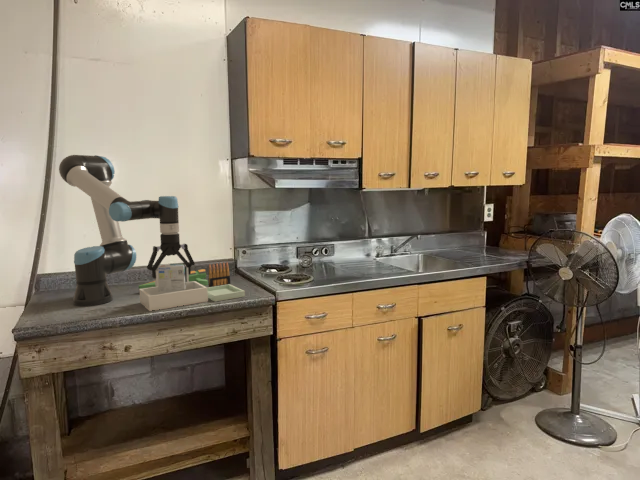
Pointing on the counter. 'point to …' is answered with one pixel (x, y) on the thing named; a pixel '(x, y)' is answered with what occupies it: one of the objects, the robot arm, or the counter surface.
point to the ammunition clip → (219, 275)
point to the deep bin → (173, 296)
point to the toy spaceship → (193, 276)
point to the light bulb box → (171, 277)
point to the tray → (224, 292)
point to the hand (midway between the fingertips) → (172, 283)
